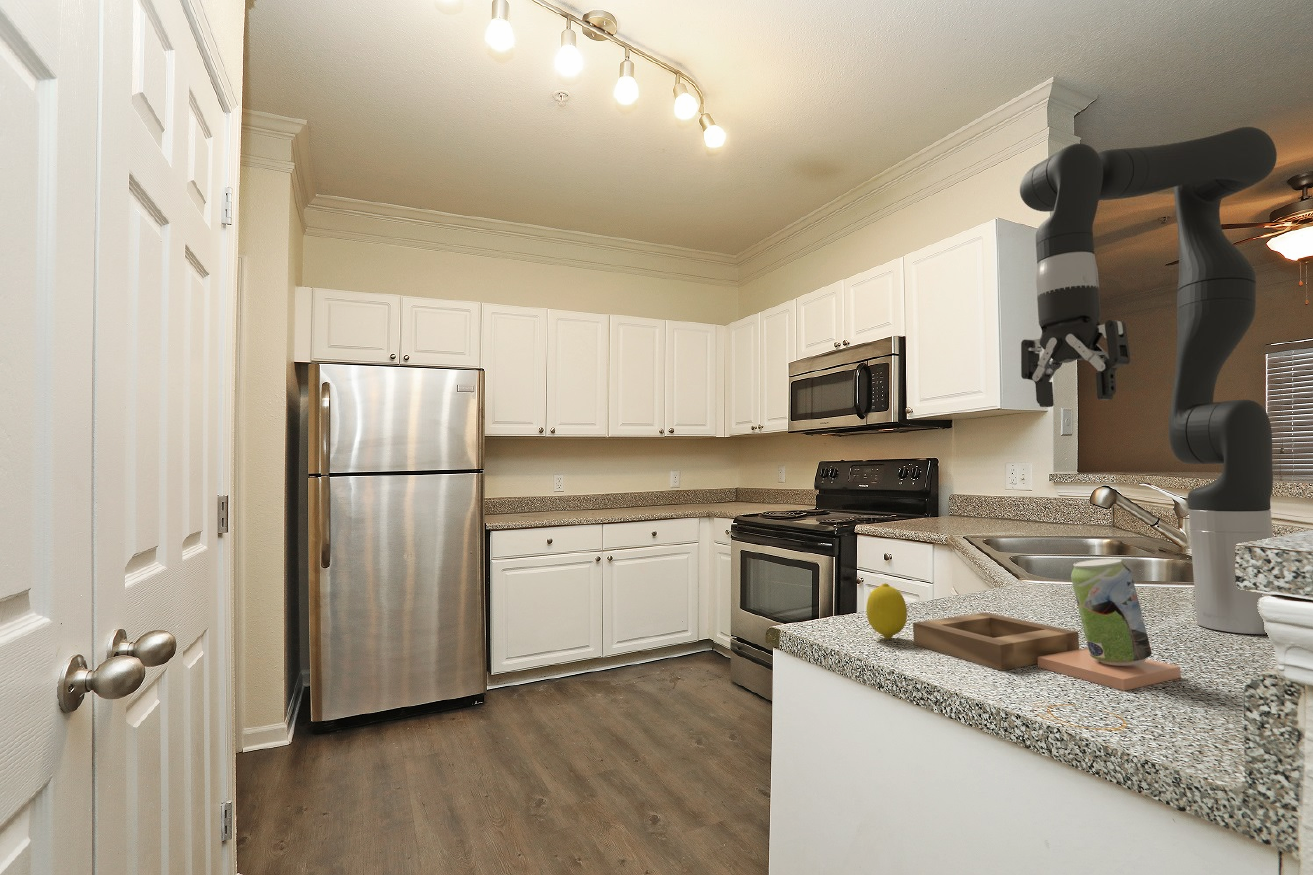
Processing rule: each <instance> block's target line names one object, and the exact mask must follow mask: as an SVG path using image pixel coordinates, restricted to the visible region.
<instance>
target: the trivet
mask: <svg viewBox="0 0 1313 875" xmlns="http://www.w3.org/2000/svg"><path fill="white" fill-rule="evenodd" d="M1037 667H1038V668H1040V669H1044V670H1047V671H1051V672H1055V673H1059V674H1062V675H1065V676H1070V677H1073V678H1077V679H1081V680H1085V681H1088V682H1091V683H1095V684H1097V685H1098V684H1099V685H1102V686H1106V687H1110V688H1113V689H1116V690H1119V691H1120V690H1121V691H1123V692H1125V691H1130V690H1132V689H1133V690H1134V689H1138V688H1142V687H1146V686H1150V685H1154V684H1159V683H1163V682H1167V681H1171V680H1177V679H1181V678H1182V676H1181V674H1182V672H1181V666H1179V665H1173V664H1169V663H1164V662H1162V661H1161V662H1160V661H1155V660H1151V659H1148V658H1146V660H1145V661H1144V662H1143V663H1140V664H1136V665H1128V666H1114V665H1107V664H1103V663H1101V662H1099V660H1097V659H1095V658H1093V657H1091V656H1090V653H1089V649H1088V647H1083V648H1079V649H1078V650H1072V651H1067V652H1062V653H1056V654H1051V655H1046V656H1040V657H1038V664H1037Z"/></svg>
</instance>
